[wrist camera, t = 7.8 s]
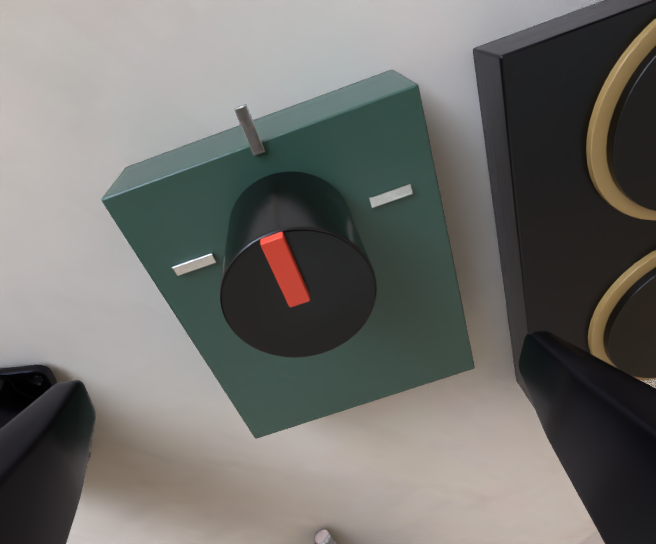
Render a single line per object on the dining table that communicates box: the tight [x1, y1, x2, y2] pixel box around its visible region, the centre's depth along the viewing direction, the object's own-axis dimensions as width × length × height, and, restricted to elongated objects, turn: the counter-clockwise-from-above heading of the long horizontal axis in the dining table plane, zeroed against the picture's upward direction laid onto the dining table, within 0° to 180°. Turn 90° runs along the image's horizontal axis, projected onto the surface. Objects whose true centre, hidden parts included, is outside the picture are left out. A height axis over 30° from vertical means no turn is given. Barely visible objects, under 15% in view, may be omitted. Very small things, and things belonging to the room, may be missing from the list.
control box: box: [102, 70, 474, 438], centre depth 18 cm, size 10×13×3 cm
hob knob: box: [219, 171, 377, 358], centre depth 13 cm, size 4×4×4 cm
